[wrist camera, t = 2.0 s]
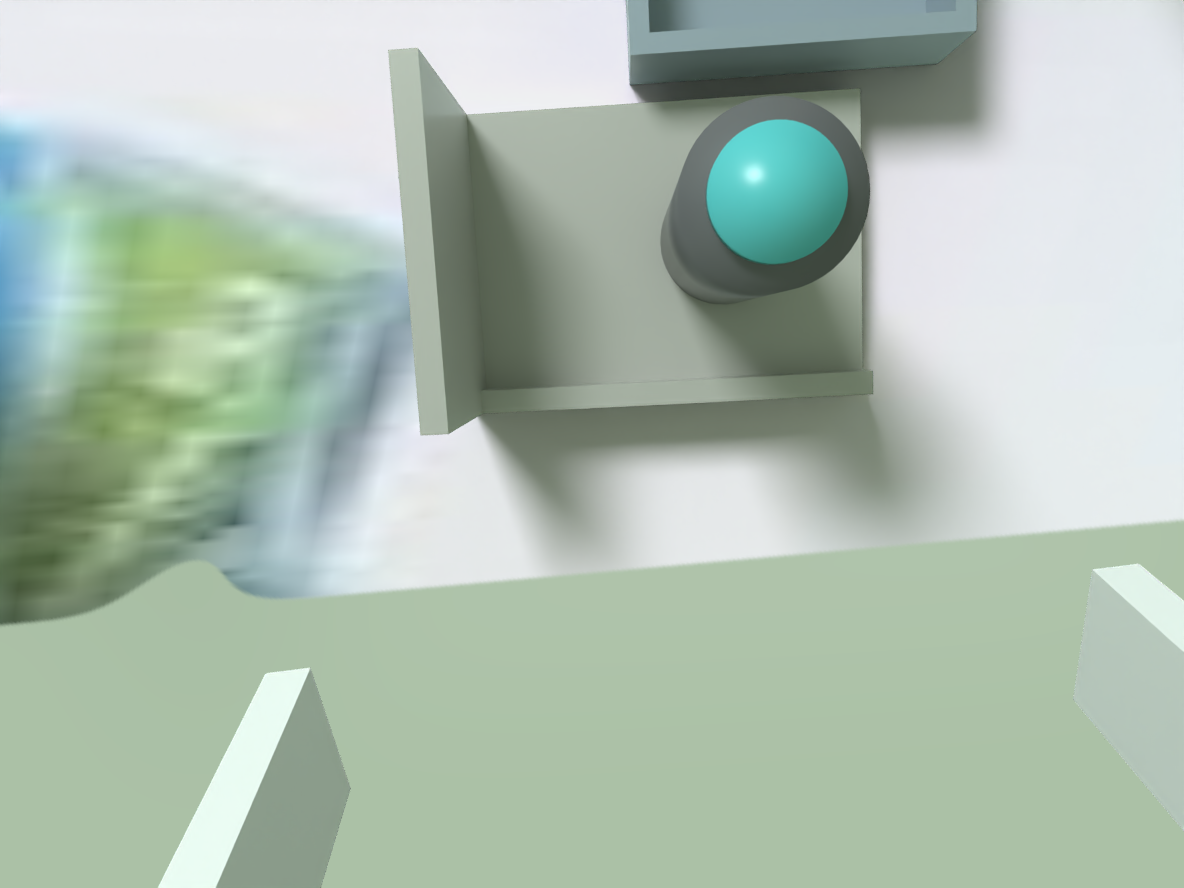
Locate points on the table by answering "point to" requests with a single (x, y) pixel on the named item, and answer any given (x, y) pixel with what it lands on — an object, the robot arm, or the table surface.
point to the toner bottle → (765, 202)
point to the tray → (788, 36)
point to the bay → (588, 265)
